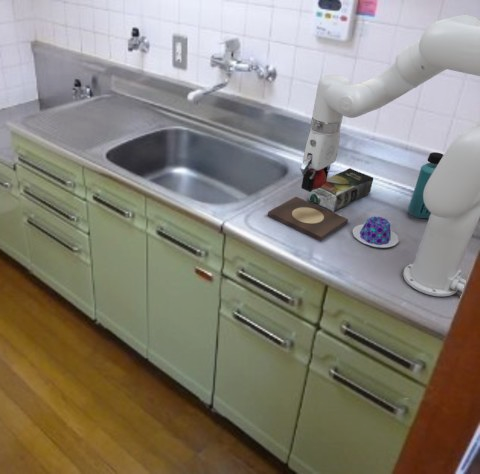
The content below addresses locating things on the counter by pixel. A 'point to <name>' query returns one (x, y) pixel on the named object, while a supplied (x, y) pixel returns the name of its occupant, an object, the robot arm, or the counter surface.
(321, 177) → the red round fruit
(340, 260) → the counter surface
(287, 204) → the cutting board
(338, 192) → the juice carton
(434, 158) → the beverage bottle
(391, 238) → the pudding
